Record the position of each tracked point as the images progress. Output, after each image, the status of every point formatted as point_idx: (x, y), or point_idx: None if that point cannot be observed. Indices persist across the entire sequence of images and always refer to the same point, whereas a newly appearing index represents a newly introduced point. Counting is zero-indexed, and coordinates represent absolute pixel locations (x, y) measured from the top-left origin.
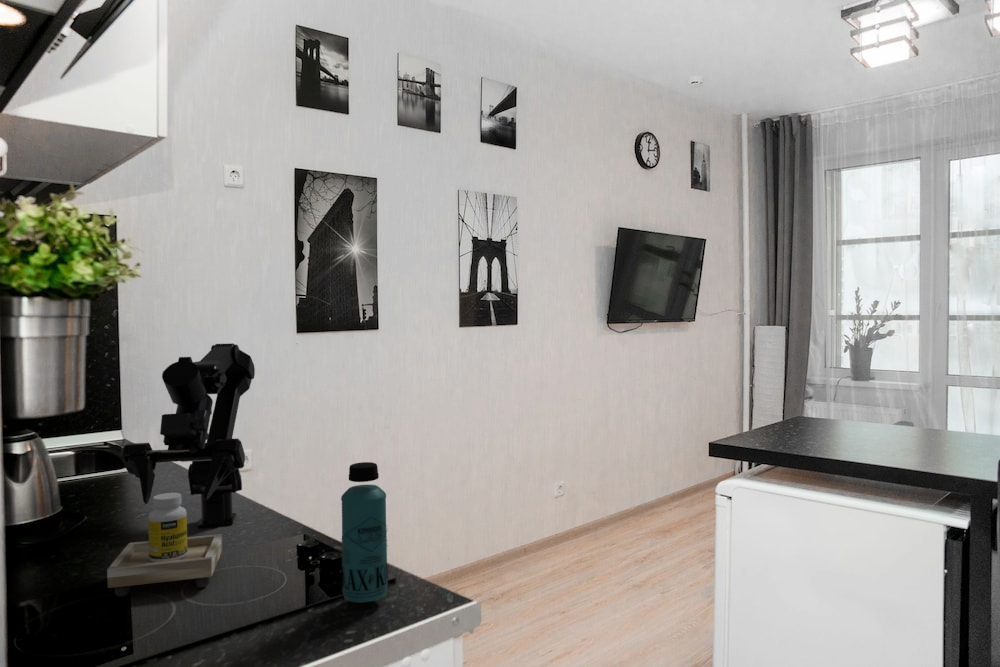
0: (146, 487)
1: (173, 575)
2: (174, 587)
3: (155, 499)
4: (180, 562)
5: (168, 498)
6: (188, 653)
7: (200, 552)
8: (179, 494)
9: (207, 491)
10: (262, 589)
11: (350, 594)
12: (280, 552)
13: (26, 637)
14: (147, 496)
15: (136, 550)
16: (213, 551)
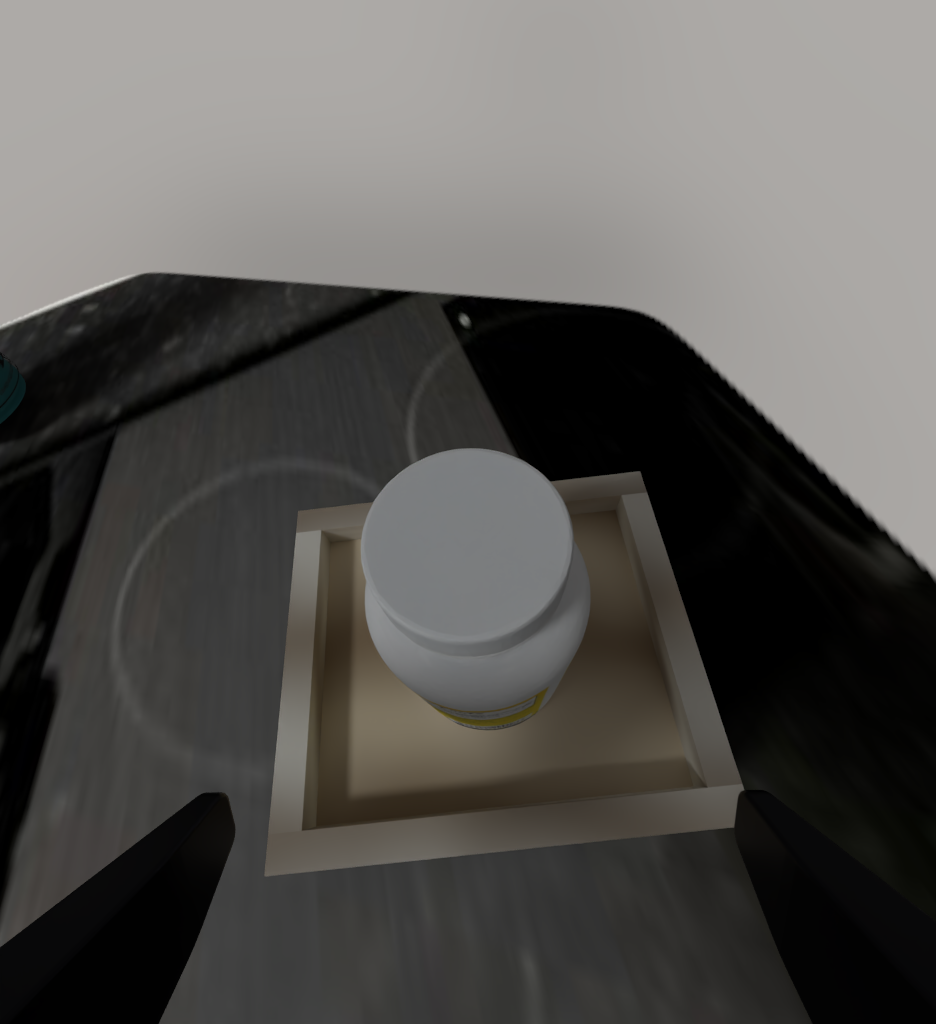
0: (854, 908)
1: None
2: None
3: (527, 464)
4: None
5: (432, 461)
6: (346, 297)
7: (367, 694)
8: (372, 557)
9: (165, 830)
10: (197, 536)
11: (7, 361)
12: None
13: (699, 373)
14: (767, 850)
15: (685, 785)
16: (294, 589)
